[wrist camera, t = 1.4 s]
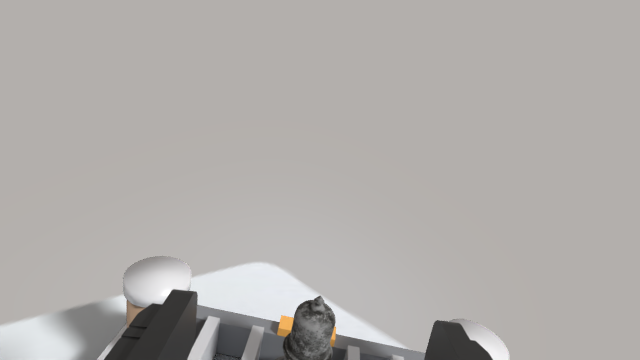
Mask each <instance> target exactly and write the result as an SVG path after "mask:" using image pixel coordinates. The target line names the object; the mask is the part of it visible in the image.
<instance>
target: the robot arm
mask: <svg viewBox="0 0 640 360" xmlns="http://www.w3.org/2000/svg"><path fill="white" fill-rule="evenodd" d="M196 315H197V292H194V291H185V290H177V289H173V290H172V291H171V292H170V294H169V295H168V297H167V298H166V300H165V301H164V303H163V304H155V303H152V304H151V305H149V306H148V307H146V308H145V309H143V310H142V311H140V312H139V313H138V314H137V315H136V317H135V318H134V319H133V321H132V322H131V323H130V325H129V327H128V328H127V329H126V330H125V331H124V333H123V334H122V335H121V338H119V340H118V341H117V342H116V344H115V345H114V346H113V348H112V349H111V350H110V352H109V353H108V354H107V356H106V357H105V358H104V360H187V359H188V356H189V354H190V352H191V349H192V346H193V343H194V338H195V332H196ZM424 360H493V359H492V357H491V356H490V354H489V353H488V352H487V351H486V350H485V349H484V348H483V347H482V346H481V345H480V344H479V343H478V342H476V341H474V340H470V339H469V337H468V335H467V333H466V332H465V330H464V328H463V327H462V325H461V324H460V323H456V322H447V321H438V320H437V321H436V322H435V323H434V325H433V329H432V332H431V336H430V339H429V343H428V347H427V350H426V354H425V358H424Z"/></svg>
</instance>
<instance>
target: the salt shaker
mask: <svg viewBox="0 0 640 360" xmlns="http://www.w3.org/2000/svg"><path fill="white" fill-rule="evenodd" d="M334 326H335V315H334V313H333V311H332V309H331V308H330V307H329V306H328V305H327V304H325V303H324V300H323V298H322V297H321V296H319V297H317V298H315V299H314V300H308V301H305V302H303V303H302V304H300V305H299V306H298V308H297V310H296V312H295V315H294V320H293V324H292V329H291V332H290V333H289V334H288V335H287V336H286V337H285V339H284V341H283V352H284V356H281V357H278V358H277V359H275V360H331V358H332V347H331V345H330V341H331V337H332V334H333V330H334Z"/></svg>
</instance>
